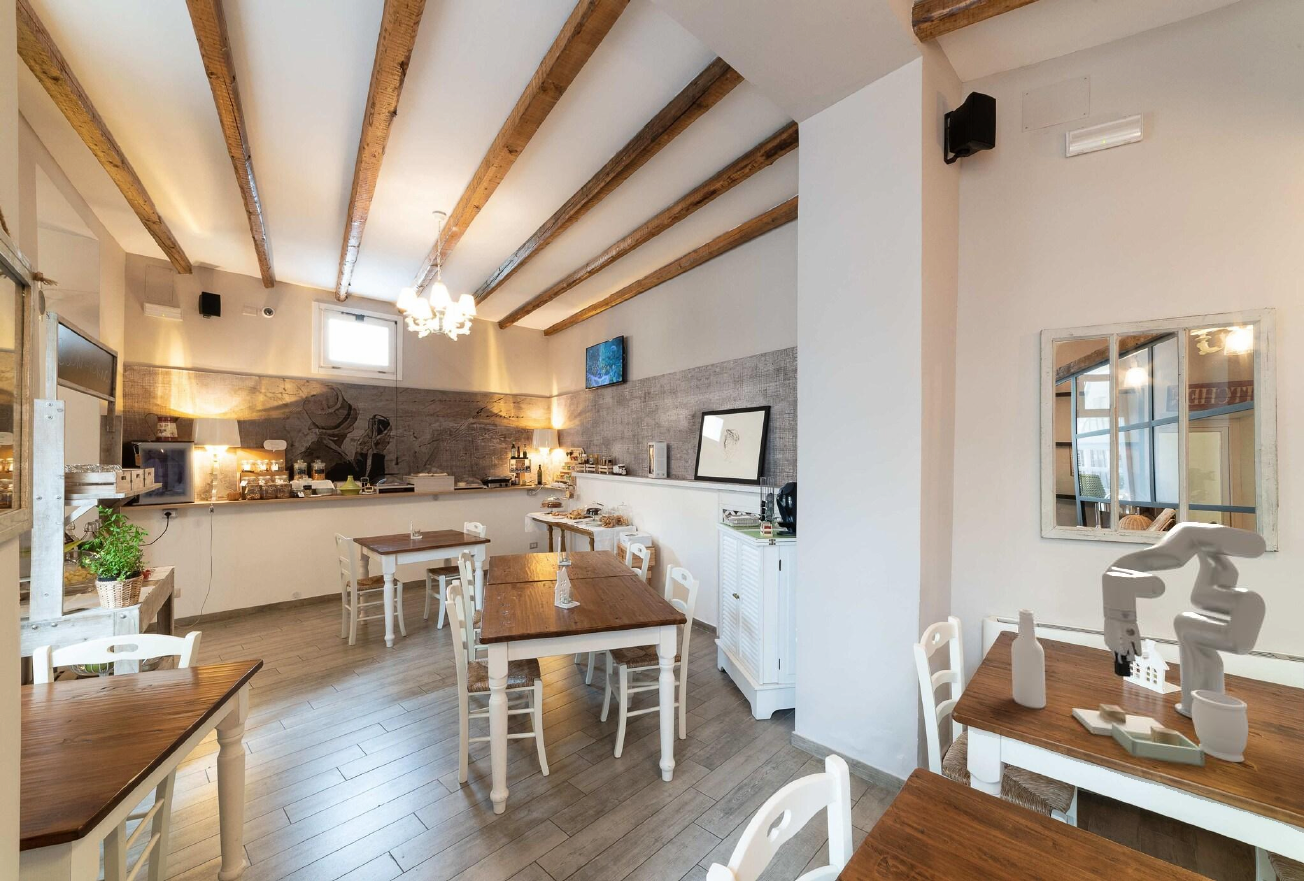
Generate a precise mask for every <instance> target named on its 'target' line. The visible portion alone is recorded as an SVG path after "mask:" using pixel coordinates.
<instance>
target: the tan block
mask: <svg viewBox="0 0 1304 881" xmlns="http://www.w3.org/2000/svg"><path fill="white" fill-rule="evenodd" d="M1098 705H1099V706H1098V707H1099V710H1098V711H1099V712H1100V714H1101V715H1102V716H1103V717H1104V718H1105V719H1106V720H1108V721H1116V722H1123V723H1126V715H1127V714H1126V711H1124V710H1123V709H1122V708H1121V707H1119V706H1118V705H1114V704H1113V705H1112V704H1105V703H1099V704H1098Z"/></svg>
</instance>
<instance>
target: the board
mask: <svg viewBox="0 0 1304 881" xmlns="http://www.w3.org/2000/svg"><path fill="white" fill-rule="evenodd" d="M1072 715H1073V716H1074V717H1075V719H1077V720H1078V721H1079V722H1080V723H1081V724H1082V725H1083V726H1084V727H1085V728H1086V729H1087V730H1088V731H1089V732H1090V733H1091V734H1096V735H1102V736H1109V737H1112V723H1115V724H1117V725H1118V726H1119V727H1120V728H1121V729H1122V730H1124V731H1125V732H1126V733H1127V734H1128V735H1129V736H1131V737H1132V738H1138V739H1145V740H1151V727H1150V726H1153V727H1160V728H1166V727H1165V726H1163V725H1162V724H1161V723H1159V722H1158V721H1156V720H1155V719H1154V718H1153V717H1147V716H1139V715H1131V714H1126V723H1123V722H1116V721H1108V720H1106V719H1105V718H1104V717H1103V716H1102V715H1101V714H1100V712H1099V710H1092V709H1083V708H1076V707H1075V708H1074V707H1073V708H1072Z"/></svg>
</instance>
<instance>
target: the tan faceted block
mask: <svg viewBox="0 0 1304 881" xmlns="http://www.w3.org/2000/svg"><path fill="white" fill-rule="evenodd" d="M1150 727H1151V742H1152V743H1160V744H1167V745H1174V746H1178V734H1177V733H1175V732H1174V731H1175V730H1173V729H1171V728H1166V727H1165V728H1160V727H1153V726H1150Z"/></svg>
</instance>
